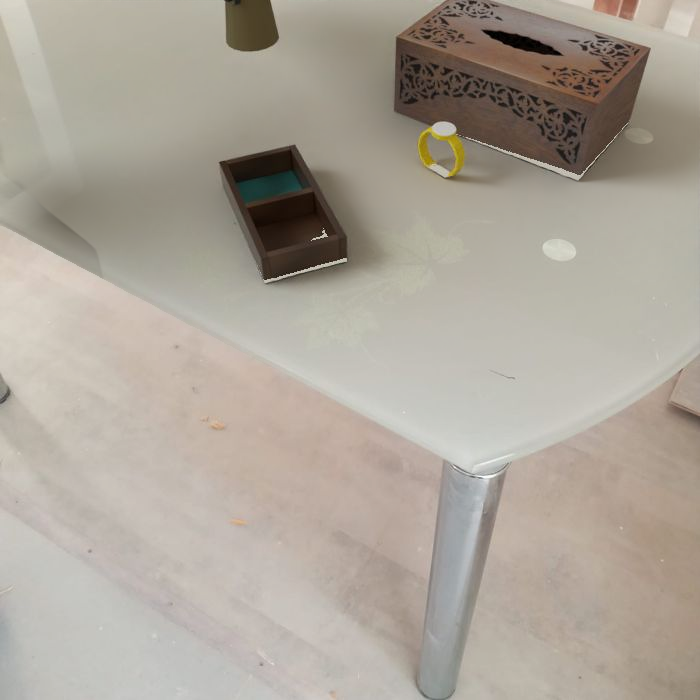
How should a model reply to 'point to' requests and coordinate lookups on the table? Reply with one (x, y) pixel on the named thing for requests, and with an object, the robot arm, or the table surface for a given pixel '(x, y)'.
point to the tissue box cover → (518, 80)
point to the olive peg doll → (250, 25)
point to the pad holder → (282, 211)
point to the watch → (444, 133)
